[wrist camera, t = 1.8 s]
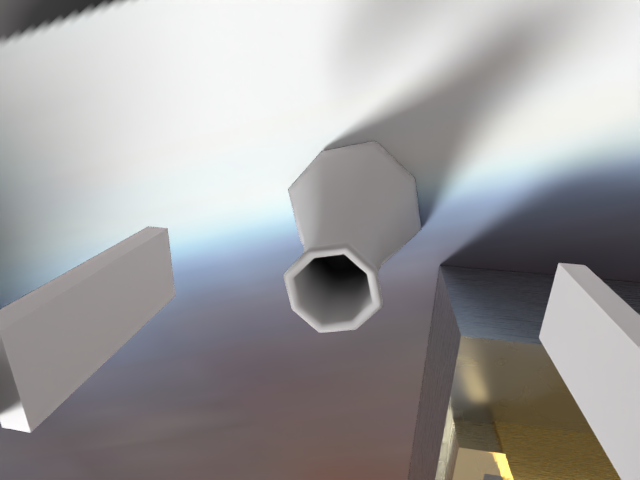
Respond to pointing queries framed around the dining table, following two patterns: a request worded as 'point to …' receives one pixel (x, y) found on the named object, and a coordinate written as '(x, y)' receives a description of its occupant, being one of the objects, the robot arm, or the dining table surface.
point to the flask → (348, 233)
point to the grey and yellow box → (500, 386)
